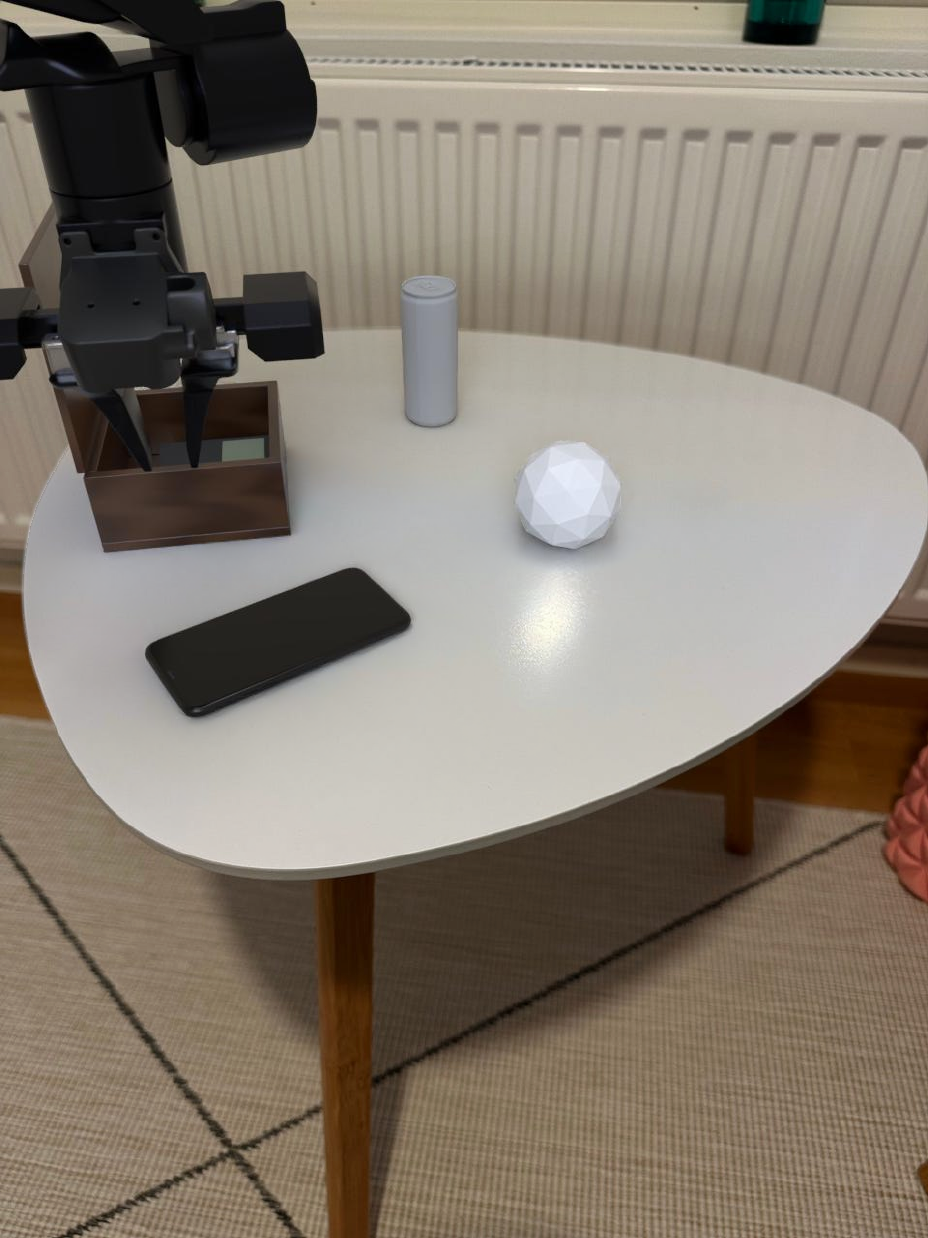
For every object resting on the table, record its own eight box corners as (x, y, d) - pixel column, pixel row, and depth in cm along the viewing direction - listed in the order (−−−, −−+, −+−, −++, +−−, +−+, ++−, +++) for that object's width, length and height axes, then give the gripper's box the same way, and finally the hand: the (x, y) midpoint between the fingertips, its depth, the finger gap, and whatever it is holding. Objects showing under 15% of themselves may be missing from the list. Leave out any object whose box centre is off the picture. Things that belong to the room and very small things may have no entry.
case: (285, 448, 84) (277, 379, 80) (290, 535, 73) (280, 461, 69) (122, 461, 82) (105, 391, 78) (103, 552, 72) (82, 478, 68)
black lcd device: (162, 513, 74) (154, 476, 72) (167, 476, 79) (159, 441, 77) (275, 502, 75) (270, 467, 73) (274, 467, 80) (269, 432, 78)
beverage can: (439, 399, 91) (437, 270, 83) (468, 419, 88) (469, 287, 80) (395, 413, 89) (388, 282, 81) (423, 434, 86) (419, 299, 78)
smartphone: (357, 571, 70) (141, 655, 62) (356, 561, 69) (138, 644, 62) (418, 629, 65) (190, 727, 57) (417, 618, 64) (187, 716, 57)
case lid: (61, 198, 69) (52, 198, 69) (28, 263, 58) (17, 264, 58) (108, 387, 78) (100, 388, 78) (86, 473, 67) (77, 474, 67)
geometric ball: (541, 555, 76) (525, 453, 76) (641, 539, 73) (625, 432, 72) (506, 560, 69) (488, 448, 69) (615, 542, 66) (597, 424, 66)
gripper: (-150, 247, 39) (-28, 562, 49) (315, 223, 42) (343, 528, 52) (-78, 173, 48) (13, 454, 58) (304, 157, 50) (330, 429, 60)
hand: (172, 466), depth 57 cm, fingers closed
